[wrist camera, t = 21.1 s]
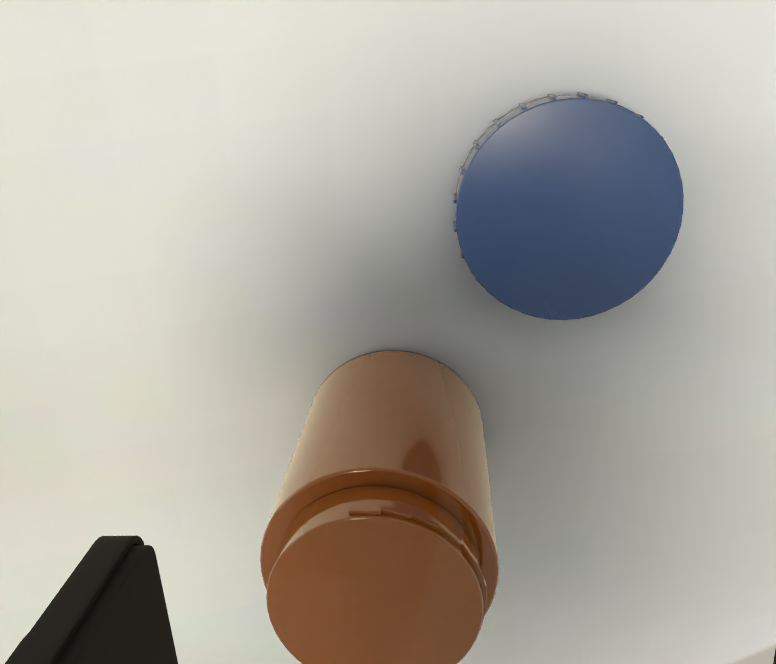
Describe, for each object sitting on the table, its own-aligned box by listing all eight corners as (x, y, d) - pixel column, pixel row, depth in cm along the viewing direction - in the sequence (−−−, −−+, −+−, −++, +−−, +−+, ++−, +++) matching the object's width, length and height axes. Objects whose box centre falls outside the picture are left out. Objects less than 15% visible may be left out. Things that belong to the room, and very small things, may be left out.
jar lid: (451, 98, 23) (452, 101, 21) (679, 87, 22) (697, 89, 21) (454, 307, 25) (455, 324, 24) (659, 302, 25) (674, 319, 23)
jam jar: (484, 501, 28) (505, 705, 19) (318, 505, 29) (265, 704, 20) (480, 345, 26) (501, 496, 17) (299, 353, 26) (228, 502, 18)
